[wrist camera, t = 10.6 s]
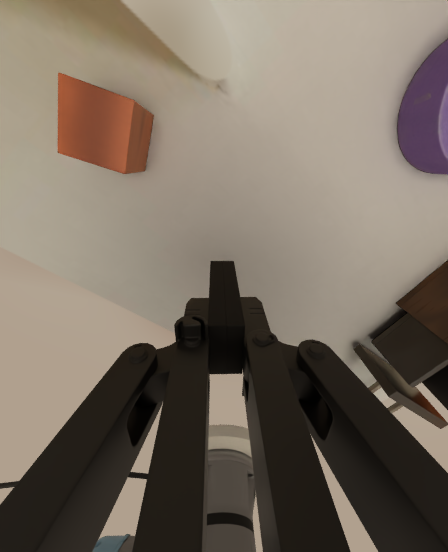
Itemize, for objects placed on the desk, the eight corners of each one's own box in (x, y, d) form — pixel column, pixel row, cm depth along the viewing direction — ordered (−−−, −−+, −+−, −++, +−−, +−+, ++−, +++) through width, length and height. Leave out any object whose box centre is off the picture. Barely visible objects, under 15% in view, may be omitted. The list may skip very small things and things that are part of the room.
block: (94, 154, 23) (57, 152, 18) (98, 94, 21) (57, 72, 16) (145, 171, 24) (125, 174, 19) (153, 115, 22) (134, 100, 16)
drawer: (362, 404, 40) (394, 455, 33) (317, 378, 37) (341, 428, 30) (479, 323, 33) (549, 367, 26) (435, 282, 30) (502, 319, 23)
